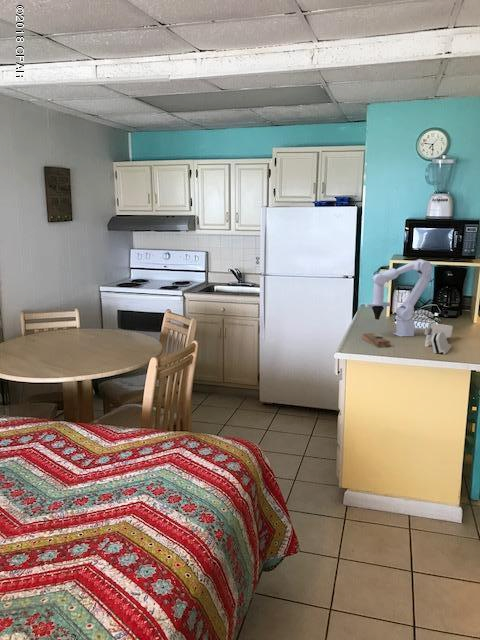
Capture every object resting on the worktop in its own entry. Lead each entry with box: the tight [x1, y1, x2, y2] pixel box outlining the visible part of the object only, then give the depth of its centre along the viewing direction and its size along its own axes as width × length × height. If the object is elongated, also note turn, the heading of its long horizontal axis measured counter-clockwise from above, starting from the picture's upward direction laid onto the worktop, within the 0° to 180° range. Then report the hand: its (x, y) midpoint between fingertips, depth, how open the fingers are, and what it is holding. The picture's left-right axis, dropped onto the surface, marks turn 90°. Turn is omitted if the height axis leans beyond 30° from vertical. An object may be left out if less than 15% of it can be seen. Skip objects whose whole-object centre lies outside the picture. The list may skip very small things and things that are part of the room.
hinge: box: [430, 332, 452, 355], centre depth 270 cm, size 17×5×10 cm, turn 148°
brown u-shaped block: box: [361, 332, 391, 348], centre depth 285 cm, size 7×18×3 cm, turn 14°
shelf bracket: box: [424, 322, 454, 347], centre depth 286 cm, size 6×25×13 cm, turn 134°
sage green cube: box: [373, 333, 384, 339], centre depth 286 cm, size 4×4×4 cm
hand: (377, 319), depth 300 cm, fingers closed
